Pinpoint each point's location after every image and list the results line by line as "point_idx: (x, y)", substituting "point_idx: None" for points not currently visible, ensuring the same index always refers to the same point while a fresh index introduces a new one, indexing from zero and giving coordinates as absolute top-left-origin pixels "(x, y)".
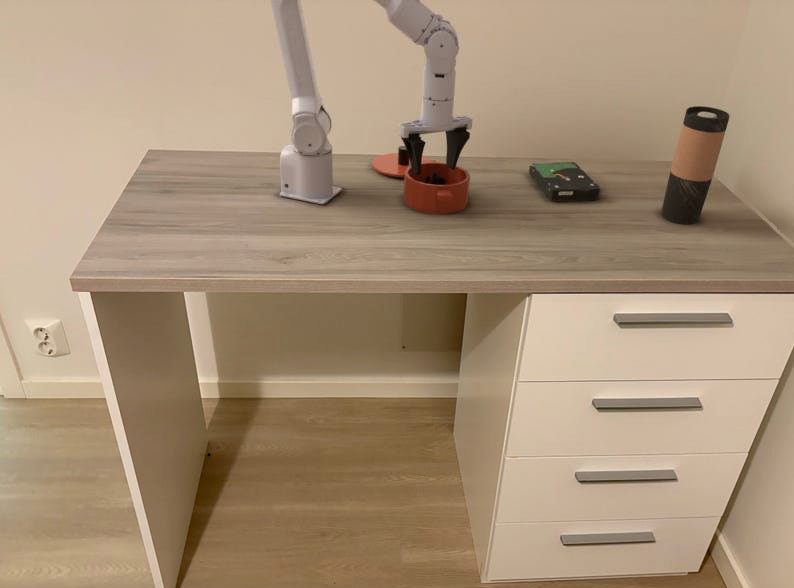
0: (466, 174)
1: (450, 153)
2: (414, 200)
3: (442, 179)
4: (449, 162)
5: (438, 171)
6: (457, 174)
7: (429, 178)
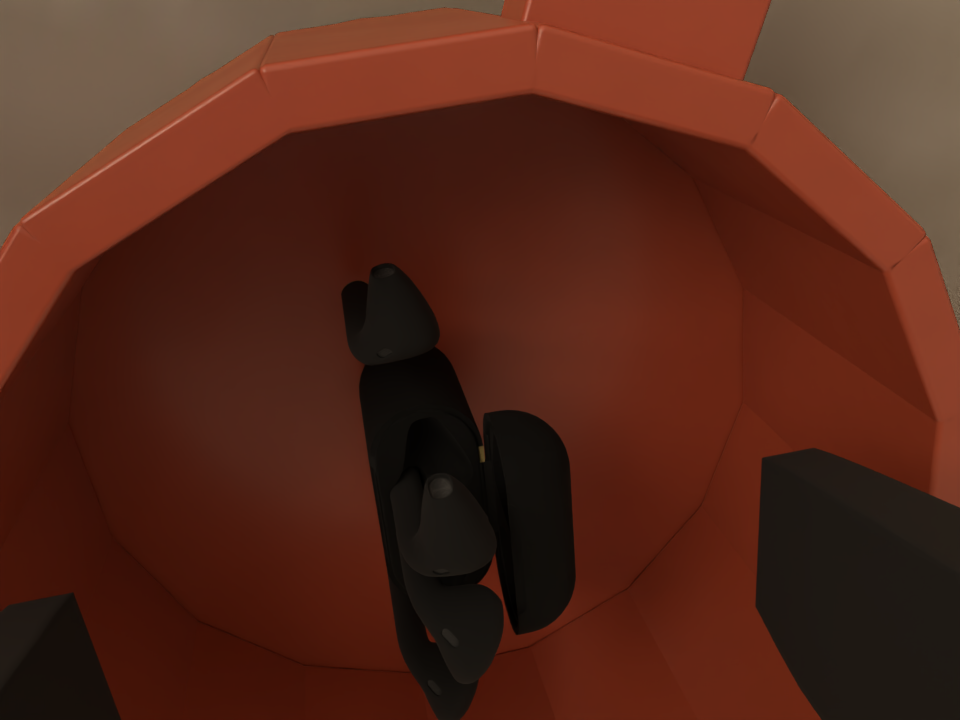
0: None
1: (936, 709)
2: None
3: (523, 628)
4: (806, 594)
5: (690, 139)
6: (867, 367)
7: (427, 350)
